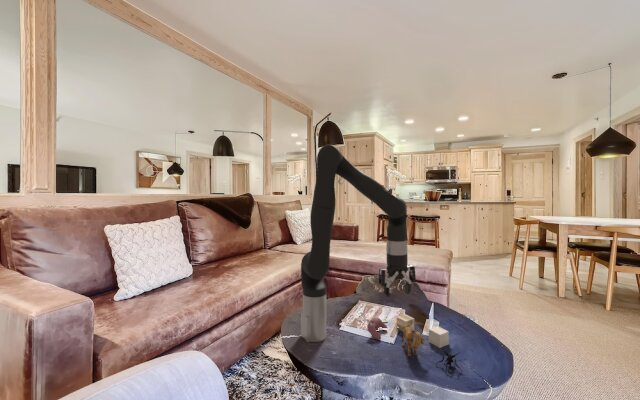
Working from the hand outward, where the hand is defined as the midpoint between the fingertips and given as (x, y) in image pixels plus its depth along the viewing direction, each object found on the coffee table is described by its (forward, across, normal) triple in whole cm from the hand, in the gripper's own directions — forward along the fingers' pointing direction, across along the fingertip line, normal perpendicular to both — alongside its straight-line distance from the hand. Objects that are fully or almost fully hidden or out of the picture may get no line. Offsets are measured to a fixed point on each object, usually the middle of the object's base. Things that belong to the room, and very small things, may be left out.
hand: (397, 294), depth 108 cm
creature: (+19, +8, -18) cm, 27 cm away
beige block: (+20, +15, -4) cm, 25 cm away
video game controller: (+19, -4, +9) cm, 22 cm away
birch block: (+19, +9, +9) cm, 23 cm away
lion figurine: (+19, +2, -5) cm, 20 cm away
